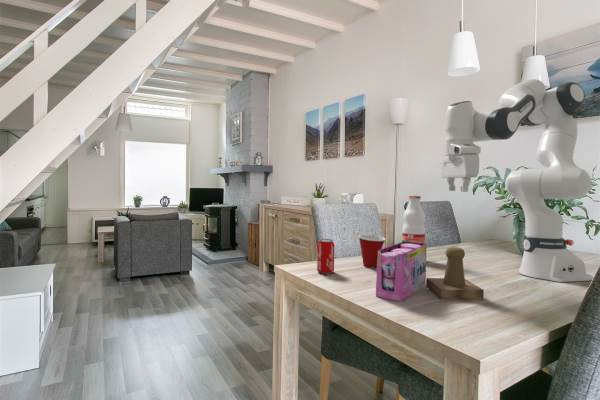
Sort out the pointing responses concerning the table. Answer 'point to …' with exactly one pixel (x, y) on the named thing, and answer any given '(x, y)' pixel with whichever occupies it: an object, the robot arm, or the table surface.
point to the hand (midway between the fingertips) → (457, 191)
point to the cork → (454, 267)
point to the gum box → (401, 270)
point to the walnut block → (454, 290)
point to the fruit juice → (414, 221)
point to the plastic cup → (370, 249)
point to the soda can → (325, 256)
